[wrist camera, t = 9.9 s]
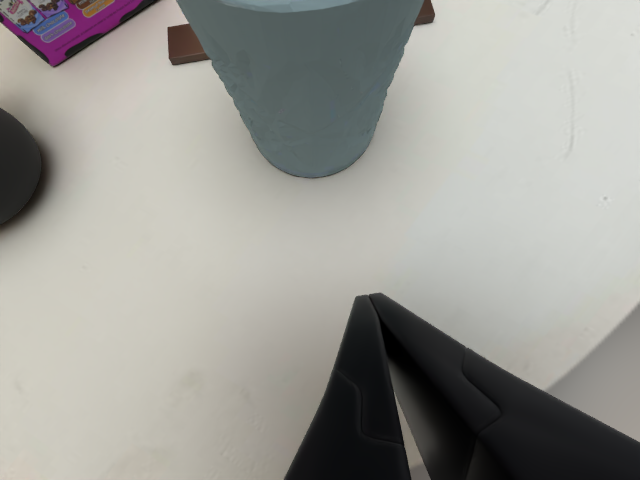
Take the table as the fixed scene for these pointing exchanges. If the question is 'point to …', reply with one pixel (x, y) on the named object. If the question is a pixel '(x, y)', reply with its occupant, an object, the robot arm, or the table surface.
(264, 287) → the table surface
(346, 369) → the robot arm
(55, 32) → the candy bar box
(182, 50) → the walnut ruler
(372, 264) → the table surface
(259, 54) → the blue cup
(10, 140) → the mug
